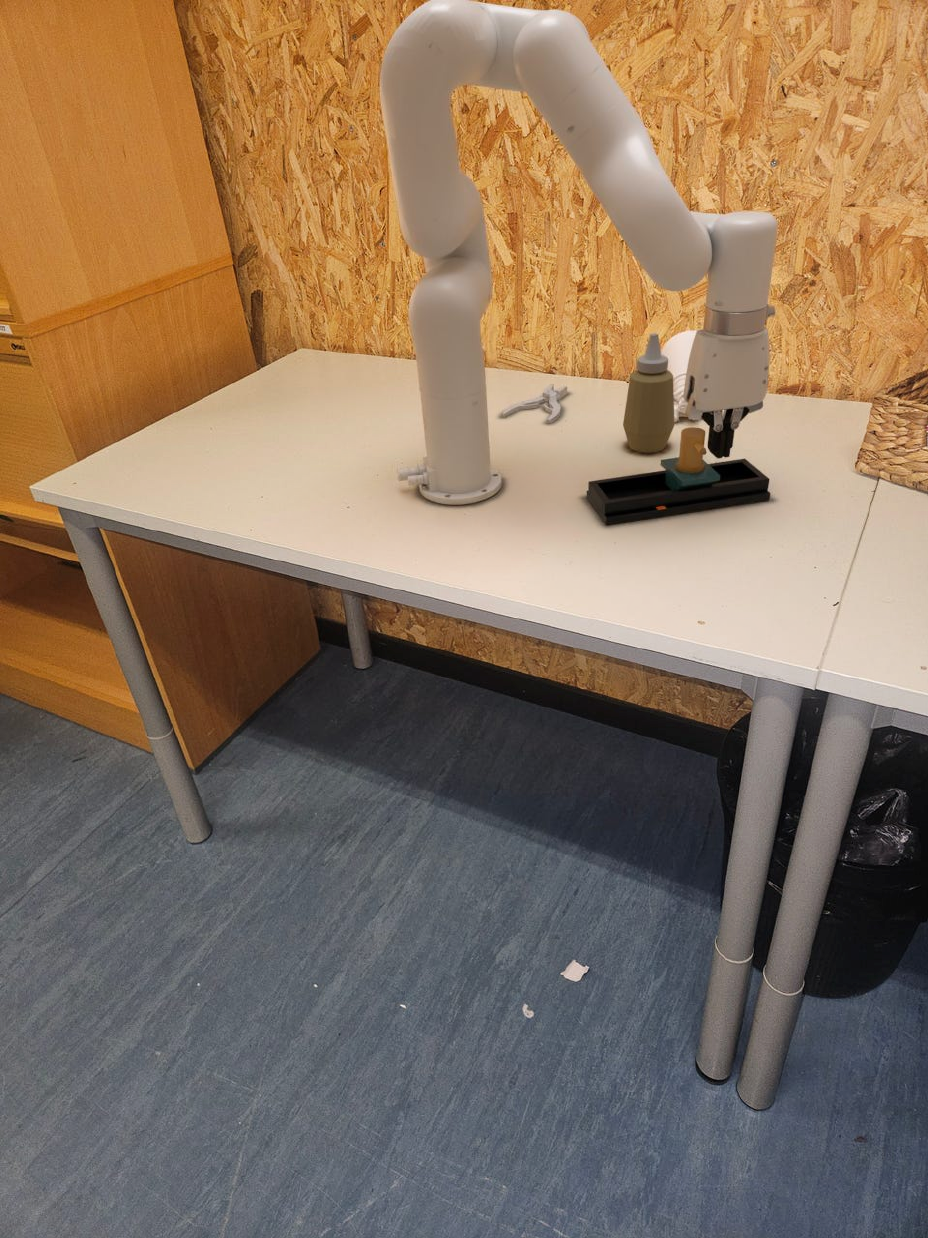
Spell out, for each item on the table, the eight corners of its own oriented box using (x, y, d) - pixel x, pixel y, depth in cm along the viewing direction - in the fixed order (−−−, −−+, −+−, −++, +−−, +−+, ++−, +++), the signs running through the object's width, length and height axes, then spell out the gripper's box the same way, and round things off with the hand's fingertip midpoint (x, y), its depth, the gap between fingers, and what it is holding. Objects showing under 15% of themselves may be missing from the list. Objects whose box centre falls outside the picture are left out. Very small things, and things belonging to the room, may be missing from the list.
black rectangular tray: (606, 525, 112) (606, 506, 111) (586, 497, 120) (586, 479, 118) (769, 500, 115) (772, 481, 114) (740, 474, 123) (742, 456, 121)
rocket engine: (689, 371, 133) (698, 317, 144) (634, 410, 141) (646, 355, 152) (732, 420, 137) (737, 363, 148) (676, 454, 145) (685, 398, 156)
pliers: (500, 408, 148) (535, 381, 158) (501, 417, 148) (535, 389, 159) (550, 415, 143) (583, 387, 154) (550, 423, 144) (583, 395, 155)
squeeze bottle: (672, 457, 129) (682, 342, 119) (620, 456, 131) (625, 342, 121) (672, 437, 136) (681, 326, 126) (623, 436, 137) (627, 327, 127)
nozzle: (680, 502, 113) (685, 445, 108) (659, 479, 120) (663, 424, 115) (718, 497, 114) (725, 439, 109) (695, 474, 120) (700, 419, 115)
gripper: (774, 306, 108) (755, 437, 119) (667, 319, 107) (658, 451, 117) (804, 320, 102) (782, 457, 113) (691, 334, 100) (679, 472, 111)
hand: (718, 453), depth 115 cm, fingers closed
